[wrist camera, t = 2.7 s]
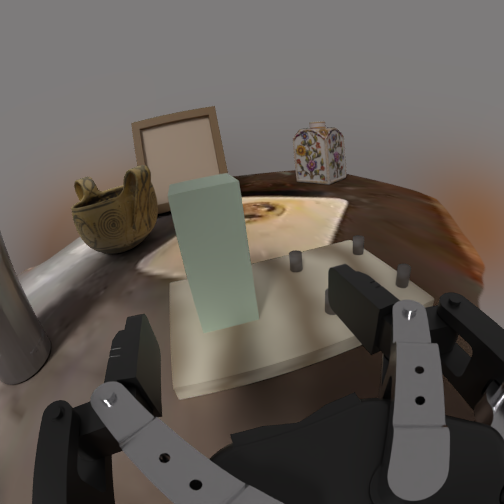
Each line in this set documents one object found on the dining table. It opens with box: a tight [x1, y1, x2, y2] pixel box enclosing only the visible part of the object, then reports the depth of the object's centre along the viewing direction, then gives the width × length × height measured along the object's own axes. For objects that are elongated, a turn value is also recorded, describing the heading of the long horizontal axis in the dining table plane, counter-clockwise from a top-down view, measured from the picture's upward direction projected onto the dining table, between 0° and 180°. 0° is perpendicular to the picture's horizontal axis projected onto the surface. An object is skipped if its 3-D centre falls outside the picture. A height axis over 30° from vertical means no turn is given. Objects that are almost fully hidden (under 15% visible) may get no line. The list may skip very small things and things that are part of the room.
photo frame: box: [132, 106, 228, 214], centre depth 68 cm, size 15×22×25 cm
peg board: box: [170, 235, 434, 400], centre depth 27 cm, size 24×16×4 cm, turn 105°
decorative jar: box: [293, 121, 346, 185], centre depth 77 cm, size 12×12×18 cm
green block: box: [168, 173, 259, 333], centre depth 23 cm, size 5×5×12 cm
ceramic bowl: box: [71, 165, 158, 254], centre depth 47 cm, size 22×17×15 cm
